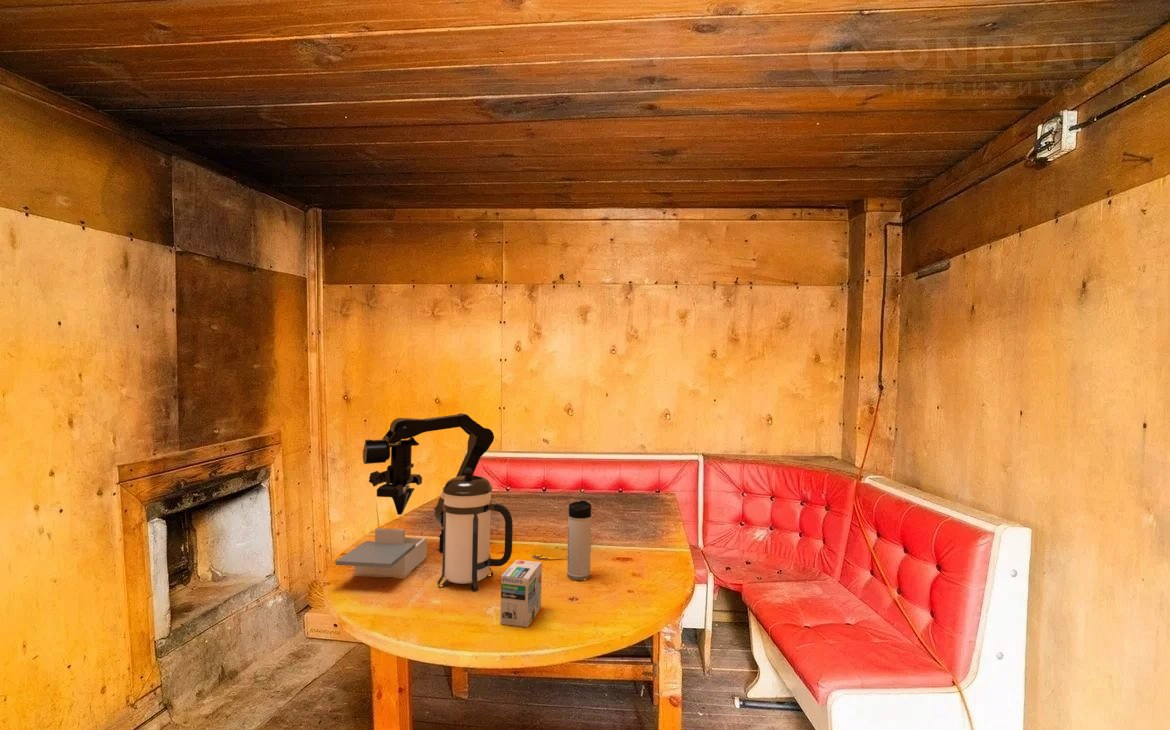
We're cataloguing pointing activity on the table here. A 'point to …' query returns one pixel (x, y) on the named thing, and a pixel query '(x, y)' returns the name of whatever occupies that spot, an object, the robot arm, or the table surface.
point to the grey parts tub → (401, 566)
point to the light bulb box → (521, 593)
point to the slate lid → (379, 550)
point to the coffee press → (470, 530)
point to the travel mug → (579, 540)
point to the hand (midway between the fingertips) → (399, 514)
